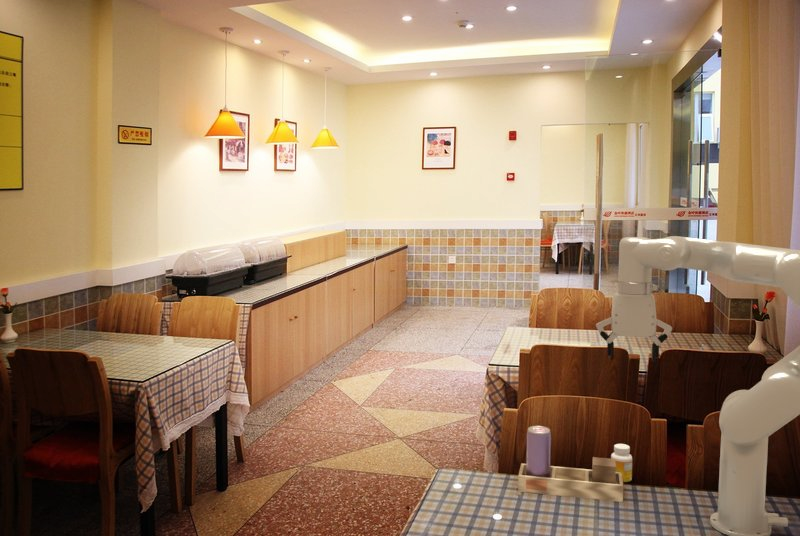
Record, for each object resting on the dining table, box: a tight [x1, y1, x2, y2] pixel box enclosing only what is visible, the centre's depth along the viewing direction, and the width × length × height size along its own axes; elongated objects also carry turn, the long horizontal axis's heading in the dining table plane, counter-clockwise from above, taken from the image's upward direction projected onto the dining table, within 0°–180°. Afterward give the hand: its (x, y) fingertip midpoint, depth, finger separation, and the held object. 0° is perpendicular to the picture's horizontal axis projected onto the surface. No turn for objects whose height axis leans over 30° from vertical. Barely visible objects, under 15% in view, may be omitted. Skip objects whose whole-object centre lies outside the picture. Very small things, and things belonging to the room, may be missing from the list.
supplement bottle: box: [610, 443, 633, 483], centre depth 187 cm, size 5×5×10 cm
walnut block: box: [591, 456, 616, 484], centre depth 178 cm, size 6×6×8 cm
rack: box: [517, 462, 624, 503], centre depth 180 cm, size 25×9×5 cm, turn 75°
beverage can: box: [525, 425, 552, 478], centre depth 182 cm, size 6×6×15 cm
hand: (632, 359), depth 170 cm, fingers open, 9 cm apart
